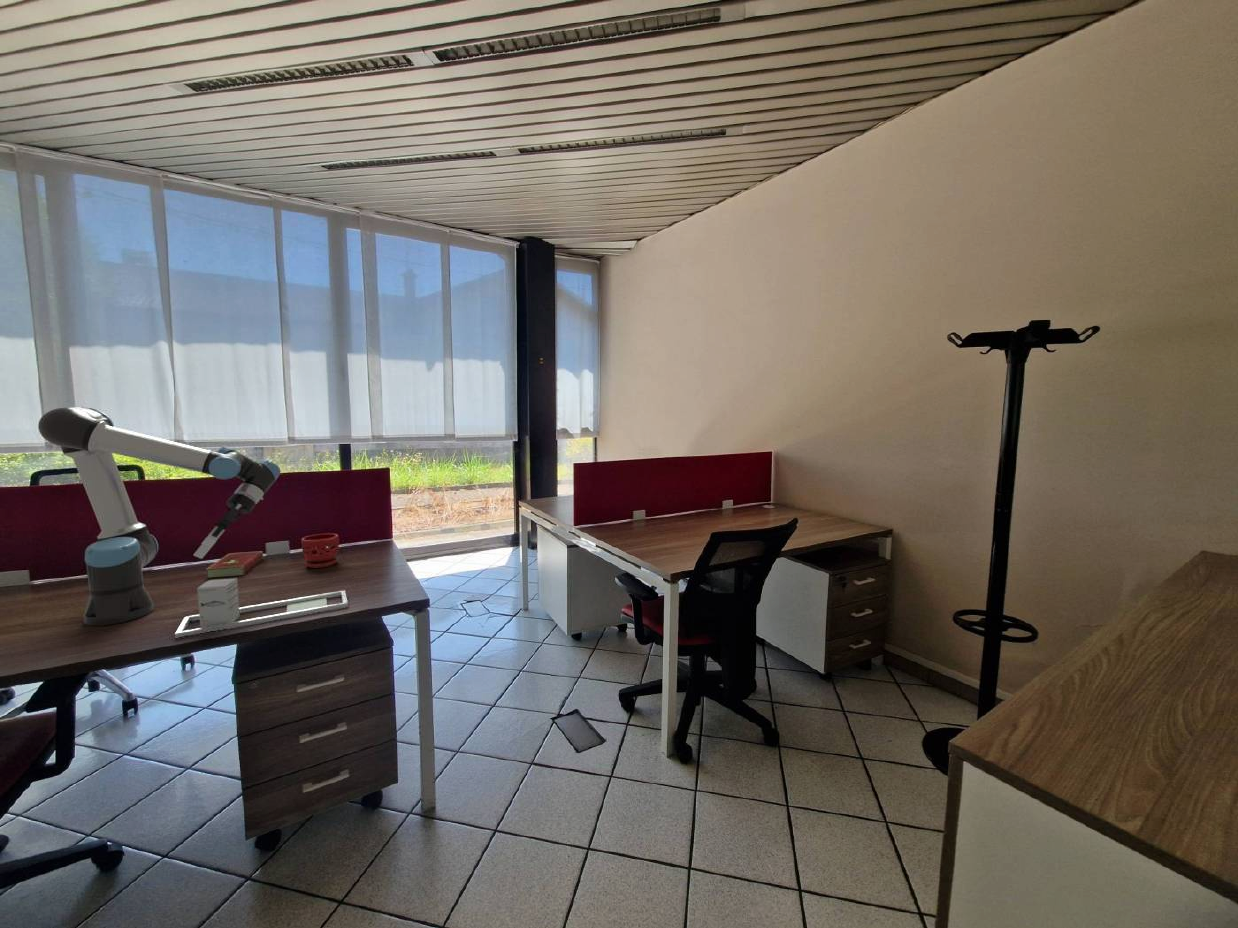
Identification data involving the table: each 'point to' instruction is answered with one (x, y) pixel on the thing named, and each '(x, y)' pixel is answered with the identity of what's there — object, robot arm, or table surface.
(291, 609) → the pad
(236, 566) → the hardcover book
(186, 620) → the rail track
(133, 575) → the robot arm
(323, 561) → the plant pot
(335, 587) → the table surface
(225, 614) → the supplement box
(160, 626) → the table surface
